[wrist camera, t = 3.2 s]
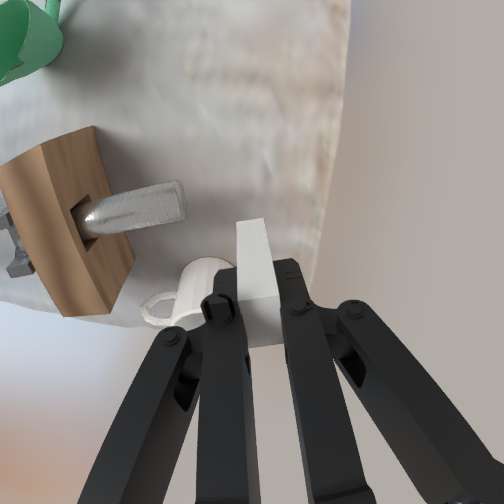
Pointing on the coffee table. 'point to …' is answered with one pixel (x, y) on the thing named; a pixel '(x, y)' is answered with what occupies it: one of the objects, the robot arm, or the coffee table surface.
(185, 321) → the mug
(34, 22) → the mug
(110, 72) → the coffee table surface
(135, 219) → the axle
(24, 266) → the cradle
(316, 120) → the coffee table surface
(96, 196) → the beam
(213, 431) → the robot arm
